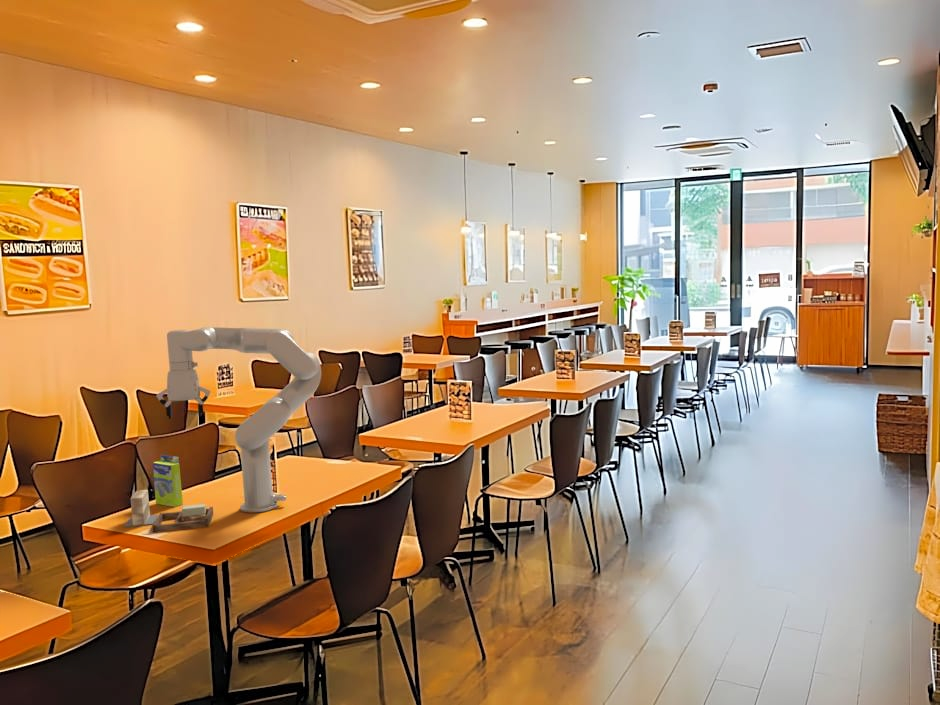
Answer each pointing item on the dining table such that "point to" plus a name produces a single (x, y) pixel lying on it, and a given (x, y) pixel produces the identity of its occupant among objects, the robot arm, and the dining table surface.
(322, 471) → the dining table surface
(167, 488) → the box
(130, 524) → the mat
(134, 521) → the beige rectangular block
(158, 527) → the rack
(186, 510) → the offcut top
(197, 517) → the offcut low
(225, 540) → the dining table surface
